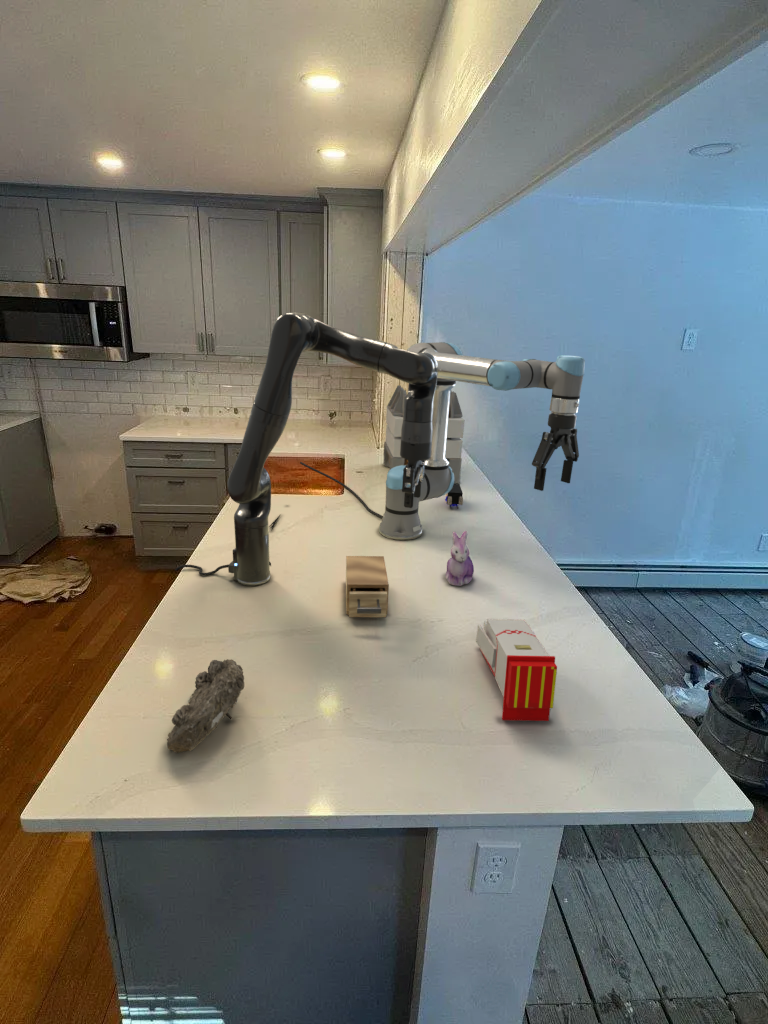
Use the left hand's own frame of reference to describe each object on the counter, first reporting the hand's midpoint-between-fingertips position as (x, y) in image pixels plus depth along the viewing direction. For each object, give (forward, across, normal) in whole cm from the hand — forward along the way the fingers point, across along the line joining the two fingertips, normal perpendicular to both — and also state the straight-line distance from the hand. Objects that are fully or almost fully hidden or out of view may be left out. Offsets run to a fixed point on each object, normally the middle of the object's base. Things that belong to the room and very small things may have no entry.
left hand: (412, 501), depth 142 cm
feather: (+29, -47, -60) cm, 81 cm away
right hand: (+1, -34, +34) cm, 48 cm away
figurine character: (+29, -88, -1) cm, 92 cm away
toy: (+29, +24, +29) cm, 48 cm away
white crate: (+29, -129, -24) cm, 134 cm away
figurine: (+29, -20, +11) cm, 37 cm away
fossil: (+29, +55, -25) cm, 67 cm away
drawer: (+28, +6, -9) cm, 30 cm away
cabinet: (+29, 0, -11) cm, 31 cm away
